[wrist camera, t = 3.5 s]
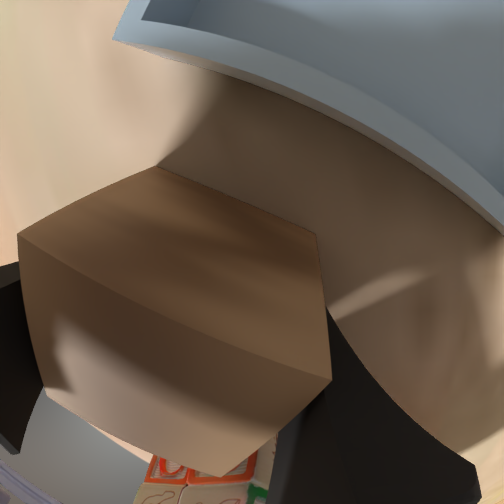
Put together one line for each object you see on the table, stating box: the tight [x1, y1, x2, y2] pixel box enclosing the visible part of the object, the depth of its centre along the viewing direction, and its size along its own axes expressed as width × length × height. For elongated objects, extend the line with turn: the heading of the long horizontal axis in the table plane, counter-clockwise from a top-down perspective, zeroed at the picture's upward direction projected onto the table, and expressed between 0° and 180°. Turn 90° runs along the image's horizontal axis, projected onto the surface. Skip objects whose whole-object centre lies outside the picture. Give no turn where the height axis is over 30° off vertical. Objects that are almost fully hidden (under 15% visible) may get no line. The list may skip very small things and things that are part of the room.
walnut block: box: [17, 166, 332, 478], centre depth 8 cm, size 6×6×6 cm
